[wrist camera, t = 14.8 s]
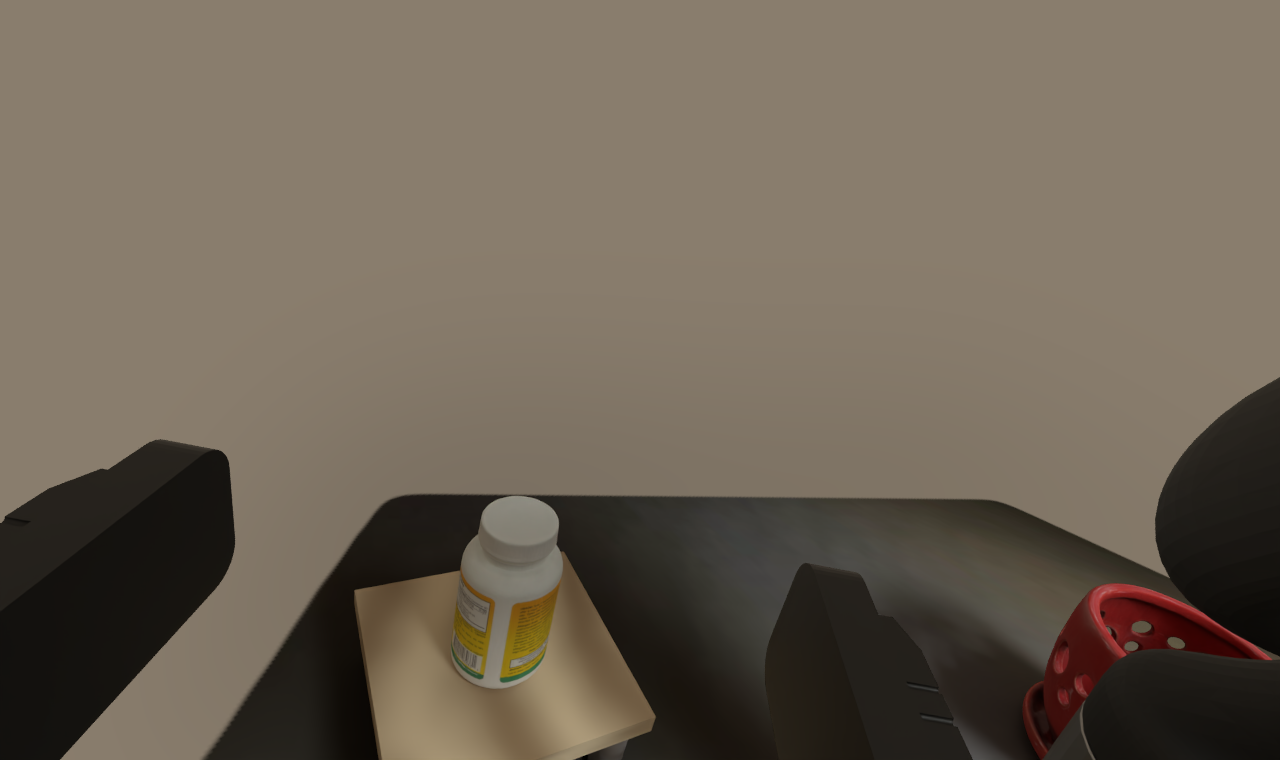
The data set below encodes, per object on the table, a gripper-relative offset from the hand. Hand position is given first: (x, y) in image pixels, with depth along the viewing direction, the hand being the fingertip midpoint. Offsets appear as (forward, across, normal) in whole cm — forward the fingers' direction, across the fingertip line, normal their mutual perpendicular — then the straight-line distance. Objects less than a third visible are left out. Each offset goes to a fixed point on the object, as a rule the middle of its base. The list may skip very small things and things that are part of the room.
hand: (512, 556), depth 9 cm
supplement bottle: (+20, +2, +25) cm, 32 cm away
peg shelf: (+20, +2, +30) cm, 36 cm away
